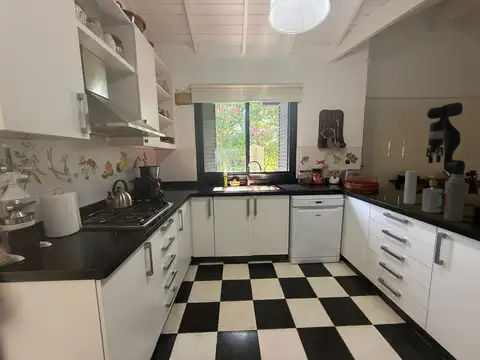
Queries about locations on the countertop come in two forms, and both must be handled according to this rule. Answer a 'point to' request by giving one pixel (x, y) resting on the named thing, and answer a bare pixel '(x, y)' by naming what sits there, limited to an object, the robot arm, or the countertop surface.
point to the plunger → (433, 184)
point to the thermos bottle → (455, 197)
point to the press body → (433, 200)
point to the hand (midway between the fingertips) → (434, 162)
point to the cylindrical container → (410, 187)
